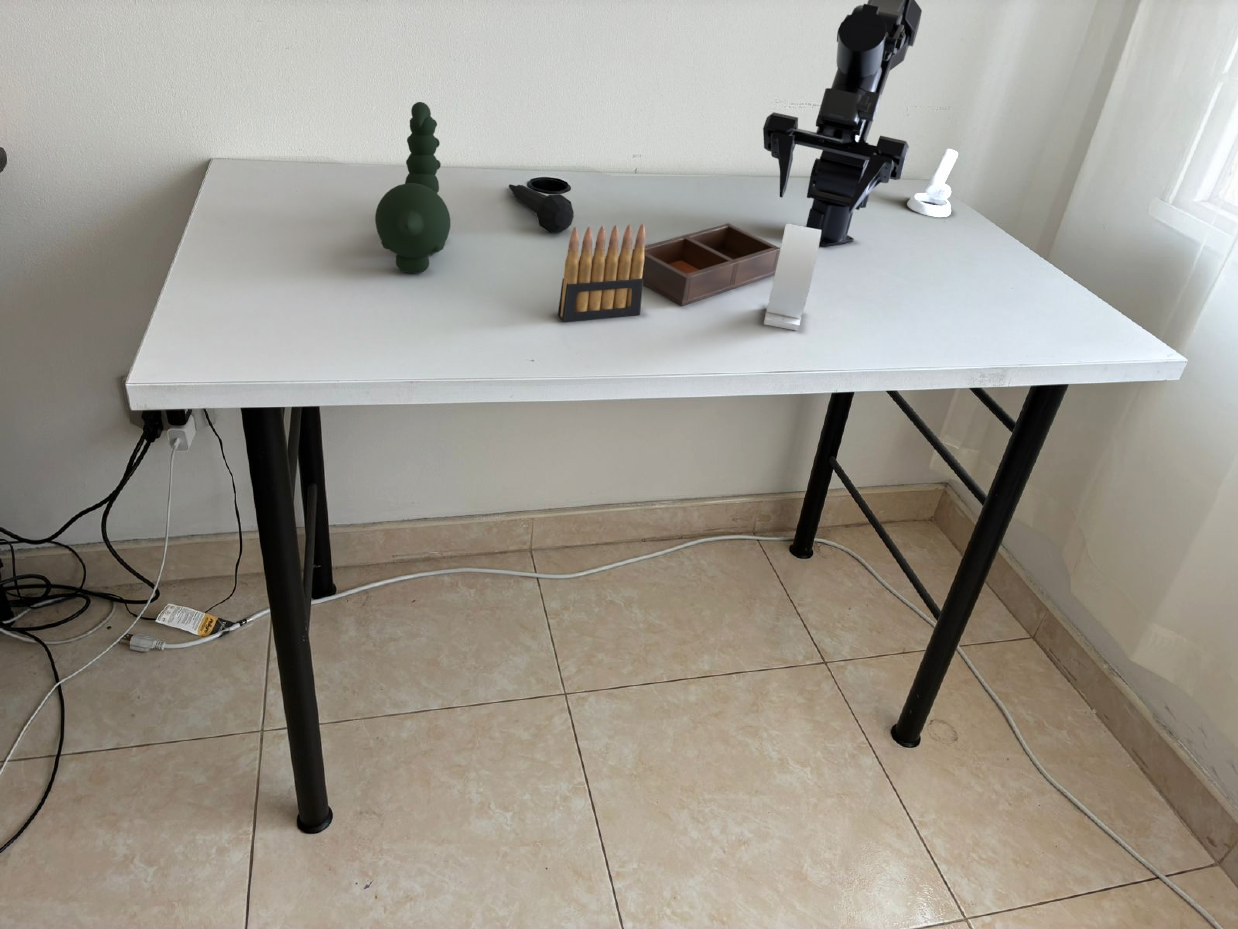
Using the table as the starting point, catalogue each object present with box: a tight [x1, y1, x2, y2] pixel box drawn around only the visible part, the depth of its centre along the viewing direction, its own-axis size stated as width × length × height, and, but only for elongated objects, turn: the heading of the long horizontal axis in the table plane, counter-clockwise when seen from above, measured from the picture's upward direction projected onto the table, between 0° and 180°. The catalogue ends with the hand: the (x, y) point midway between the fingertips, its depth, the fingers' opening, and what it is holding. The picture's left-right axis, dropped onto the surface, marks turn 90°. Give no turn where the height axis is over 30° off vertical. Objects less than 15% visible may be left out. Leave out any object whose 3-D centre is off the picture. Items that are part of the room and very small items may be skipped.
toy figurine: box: [374, 101, 451, 274], centre depth 124 cm, size 9×19×25 cm
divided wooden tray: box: [631, 222, 781, 307], centre depth 132 cm, size 20×10×4 cm, turn 133°
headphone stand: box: [763, 223, 821, 332], centre depth 121 cm, size 5×6×12 cm
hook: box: [906, 148, 959, 218], centre depth 167 cm, size 8×12×7 cm
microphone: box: [508, 184, 575, 234], centre depth 144 cm, size 6×6×20 cm
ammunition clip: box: [557, 223, 646, 323], centre depth 117 cm, size 11×2×12 cm, turn 113°
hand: (814, 204), depth 123 cm, fingers open, 9 cm apart
